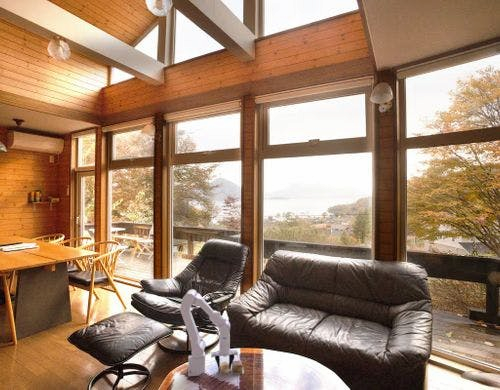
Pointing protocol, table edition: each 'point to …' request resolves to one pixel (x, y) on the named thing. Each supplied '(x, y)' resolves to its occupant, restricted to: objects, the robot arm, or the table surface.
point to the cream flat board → (237, 373)
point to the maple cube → (224, 367)
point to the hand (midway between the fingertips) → (224, 369)
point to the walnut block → (237, 366)
